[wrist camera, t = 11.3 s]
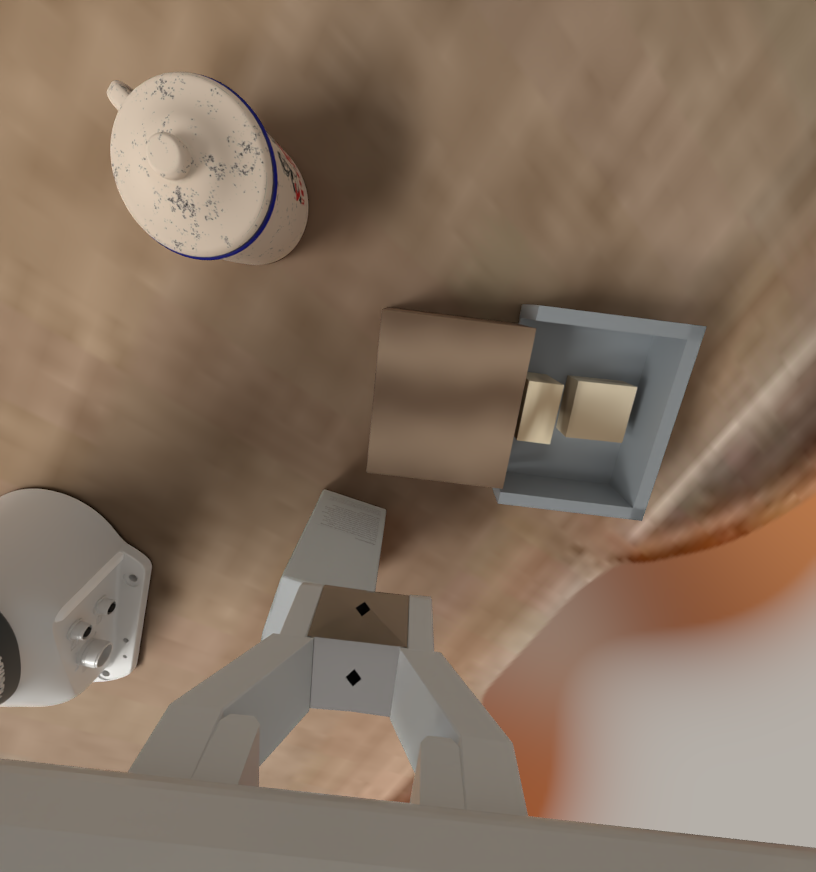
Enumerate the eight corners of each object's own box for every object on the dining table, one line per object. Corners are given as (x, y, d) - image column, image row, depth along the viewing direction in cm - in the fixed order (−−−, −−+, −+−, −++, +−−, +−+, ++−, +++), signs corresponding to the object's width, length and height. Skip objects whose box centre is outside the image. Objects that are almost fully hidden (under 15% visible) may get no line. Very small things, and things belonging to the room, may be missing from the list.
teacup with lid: (338, 199, 31) (293, 145, 20) (265, 294, 34) (189, 293, 23) (203, 66, 29) (71, -75, 18) (135, 178, 31) (-21, 114, 20)
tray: (614, 492, 38) (642, 520, 33) (488, 477, 38) (498, 503, 33) (665, 322, 33) (706, 326, 29) (522, 304, 33) (539, 305, 29)
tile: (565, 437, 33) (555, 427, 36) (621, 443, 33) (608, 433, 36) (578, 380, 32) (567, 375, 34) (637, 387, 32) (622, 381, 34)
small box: (362, 577, 42) (338, 695, 29) (300, 557, 41) (249, 669, 29) (389, 508, 39) (375, 605, 27) (323, 486, 39) (279, 574, 26)
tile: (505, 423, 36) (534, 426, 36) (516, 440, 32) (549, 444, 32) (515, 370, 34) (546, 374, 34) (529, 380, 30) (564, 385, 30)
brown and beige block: (491, 462, 38) (502, 489, 32) (373, 447, 37) (366, 472, 32) (518, 323, 34) (536, 328, 29) (387, 307, 34) (382, 309, 28)
